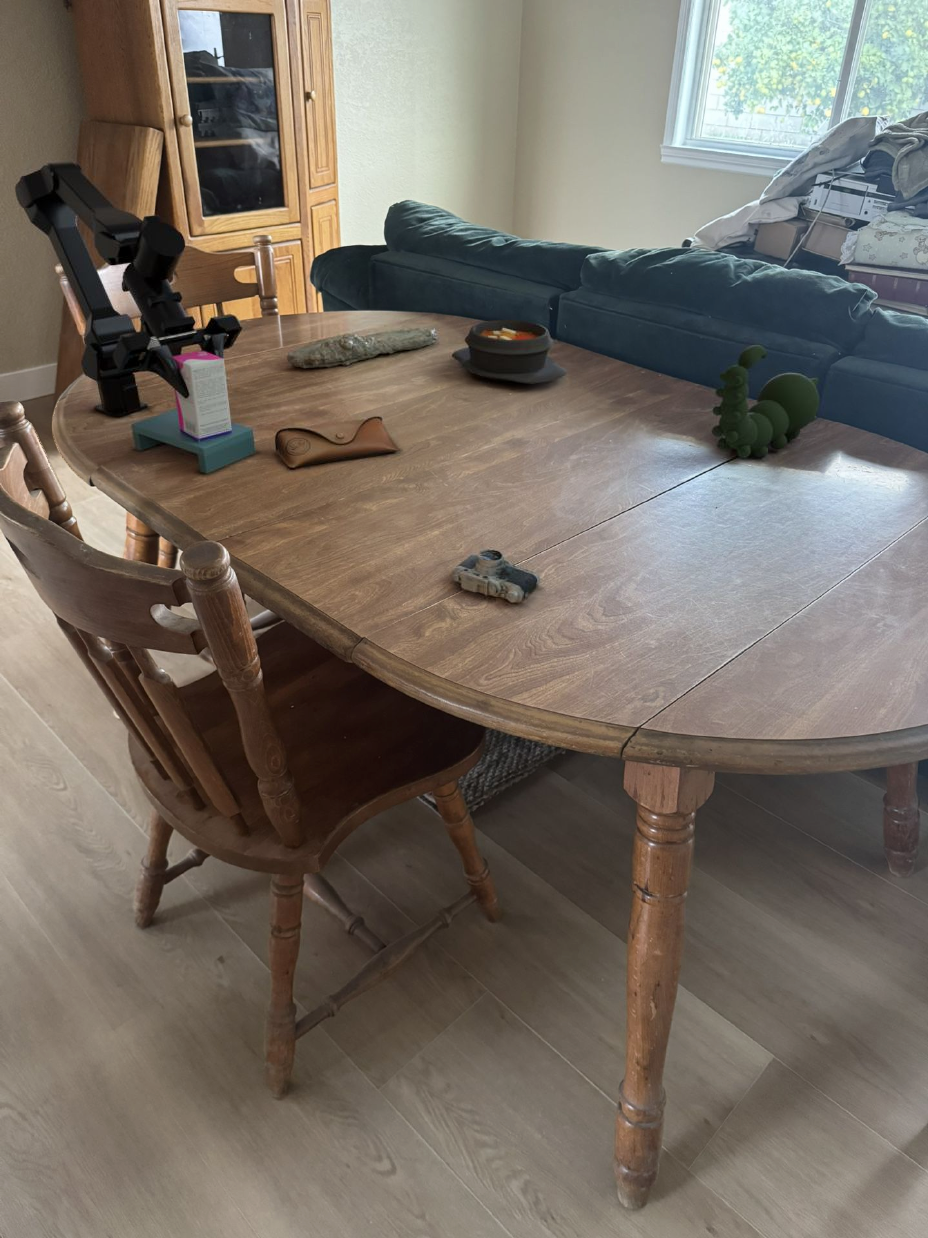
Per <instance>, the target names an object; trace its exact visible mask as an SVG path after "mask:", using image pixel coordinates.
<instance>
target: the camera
mask: <svg viewBox="0 0 928 1238" xmlns="http://www.w3.org/2000/svg"><path fill="white" fill-rule="evenodd" d="M451 573H452V574H451V575H452V580H453V581H454V582H457V583H459V584H460V585H461V586H460V587H461V589H462V590H464V591H467V592H468V591H470V592H473V593H481V594H483V595H485V596H492V597H496V598H502V599H505V600H507V601H508V602H510V603H522V601H524V600H525V599H526V598H527V597H529V596H530V594H532V593H533V592H535V590H537V589H538V588H539V586H540V583H541V578H540V577H539V575H537V573H536V572H534V571H530V570H528V569H525V568H521V567H519V566H517V565H515V564H513V563H510V562H509V561H507V560H506V558H505V557H504V555H503V553H502V551H499V550H495V549H482V550H480V551H479V552H478V554H471V555H469V556H467V558H465V559H464V560H463V561H462V562H460V563H459V564H458V565H456V566H455V567H453V570H452V572H451Z"/></svg>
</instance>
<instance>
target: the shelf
mask: <svg viewBox="0 0 928 1238" xmlns="http://www.w3.org/2000/svg"><path fill="white" fill-rule="evenodd" d="M130 426H131V432H132V438H133V443H134V449H135V450H138V451H144V450H147V449H149V448H152V447H154V446H157V445H160V444H162V443H165V444H167V445H170V446H174V447H176V448H180V449H182V450H184V451H185V450H186V451H187V452H191V453H193V454H197V459H198V465H199V471H200V473H203V474H205V475H208V474H211V473H213V472H215V471H217V470H219V469H222V468H224V467H227V466H229V465H231V464H233V463H236V462H238V461H240V460H242V459H245V458H247V457H249V456H252V455H254V454H256V445H255V436H254V429H253V428H251V427H249V426H245V425H242V424H238V423H235V422H232V421H231V429H232V433H231V434H228V435H225V436H221V437H217V438H214V439H210V440H207V441H204V442H198V441H196V440H194V439H192V438H191V437H189V436H187V435H185V434H183V433H181V432H180V425H179V418H178V410H177V407H176V408H174V409H170V410H168V411H165V412H163V413H160V414H157V415H154V416H150V417H149V418H145V419H143V420H140V421H136V422H133V423H131V424H130Z"/></svg>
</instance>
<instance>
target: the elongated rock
mask: <svg viewBox="0 0 928 1238" xmlns="http://www.w3.org/2000/svg"><path fill="white" fill-rule="evenodd" d="M437 341H438V334H437V333H436V329H435V328H430V327H405V328H401V329H395V330H390V331H389V330H387V331H382V332H376V333H371V334H367V335H357V334H355V333H354V334H353V333H344V334H343V335H342V336H341V335H338V336H334V337H330V338H326V339H320V340H317V341H315V342H314V343H309V344H307V345H304V346H301V347H298V348H295V349H292V350H290V351H288V352H287V357H286V360H287V363H288V364H289V365H290V366H292V367H293V366H295V367H298V368H302V369H310V368H311V369H313V368H331V367H337V366H339V365H342V366H349V365H350V364H354V363H355V364H356V363H357V362H359V361H362V360H367V359H372V358H374V357H376V356H378V355H379V354H383V355H385V354H389V355H392V354H394V353H396V352H401V351H410V350H416V349H422V348H424V347H426V346H431V345H432V344H434V343H436V342H437Z"/></svg>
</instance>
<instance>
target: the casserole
mask: <svg viewBox="0 0 928 1238" xmlns="http://www.w3.org/2000/svg"><path fill="white" fill-rule="evenodd" d="M464 342H465V344H466V345H467V346H466V347H463V348H461V349H457V350H455V351H454V352H453V353H452V354H451V357H452V358H453V359H454V360H456V361H457V362H458V363H459V364H460V366H461V367H462V369H464V370H466V371H467V372H469V373H471V374H474V375H477V376H480V377H483V378H485V379H489V380H493V381H499V382H515V383H521V384H526V385H527V384H528V385H532V384H533V385H534V384H542V383H547V382H552V381H556V380H558V379H561V378H562V377H565V376H566V375H567V374H568V372H567V370H566V369H565V368H564V367H562V366H560V365H559V364H558V363H556V362H555V361H554V360H553V359H552V358H551V357H550V356H549V352H550V349H551V348H552V347H553V346H554V340H553V339H552V338H551V335H550V332H549V329H548V328H547V327H545V326H543V325H541V324H539V323H535V322H531V321H525V320H516V319H495V320H487V321H482V322H478V323H476V324H474V325H472V326H471V327H470V329H469V332H468V335H466V337H465V338H464Z"/></svg>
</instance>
